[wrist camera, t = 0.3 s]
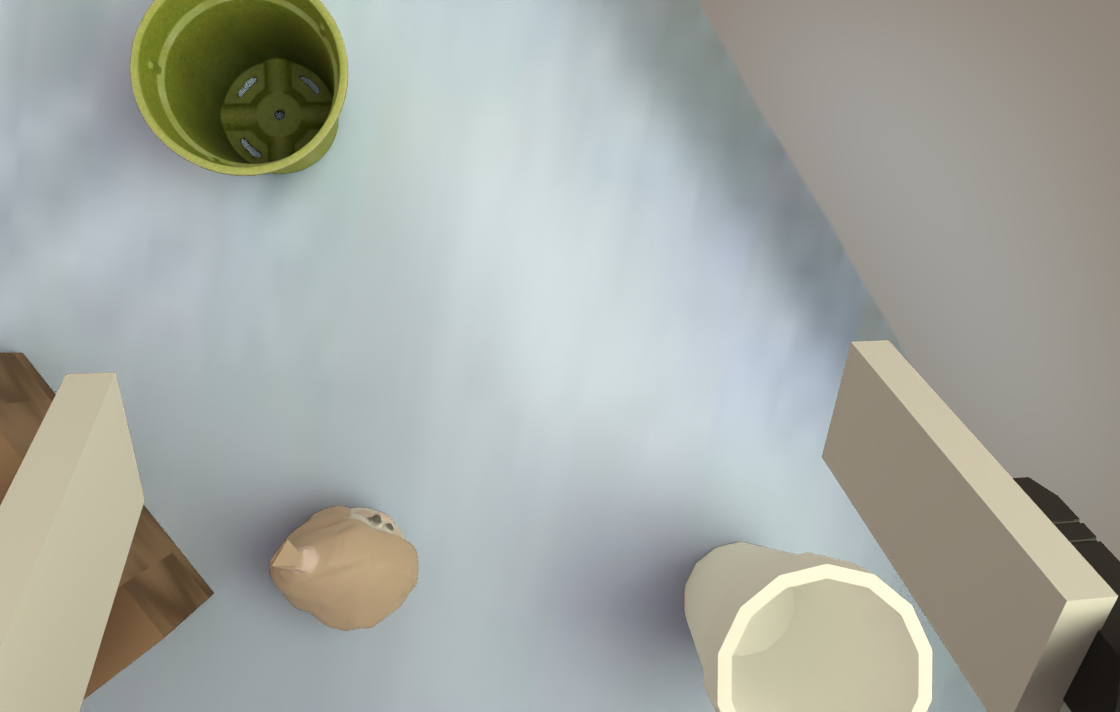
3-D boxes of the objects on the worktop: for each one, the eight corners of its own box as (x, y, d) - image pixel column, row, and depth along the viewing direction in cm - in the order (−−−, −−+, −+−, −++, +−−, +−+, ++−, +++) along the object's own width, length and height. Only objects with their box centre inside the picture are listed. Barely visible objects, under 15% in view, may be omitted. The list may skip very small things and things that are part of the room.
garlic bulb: (375, 471, 51) (357, 492, 43) (440, 570, 51) (434, 608, 43) (269, 540, 50) (231, 573, 42) (336, 639, 50) (310, 691, 42)
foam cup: (838, 536, 53) (956, 593, 40) (800, 697, 53) (907, 807, 40) (676, 498, 52) (743, 544, 39) (637, 662, 52) (692, 763, 39)
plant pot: (292, 242, 50) (254, 218, 42) (152, 127, 50) (84, 78, 41) (405, 110, 51) (390, 58, 42) (267, -6, 50) (224, -82, 42)
